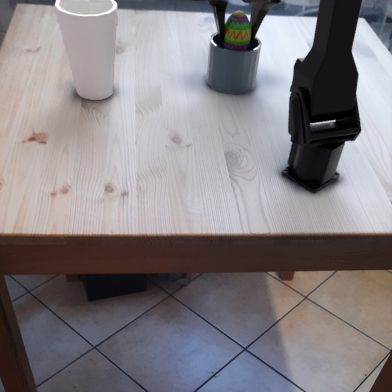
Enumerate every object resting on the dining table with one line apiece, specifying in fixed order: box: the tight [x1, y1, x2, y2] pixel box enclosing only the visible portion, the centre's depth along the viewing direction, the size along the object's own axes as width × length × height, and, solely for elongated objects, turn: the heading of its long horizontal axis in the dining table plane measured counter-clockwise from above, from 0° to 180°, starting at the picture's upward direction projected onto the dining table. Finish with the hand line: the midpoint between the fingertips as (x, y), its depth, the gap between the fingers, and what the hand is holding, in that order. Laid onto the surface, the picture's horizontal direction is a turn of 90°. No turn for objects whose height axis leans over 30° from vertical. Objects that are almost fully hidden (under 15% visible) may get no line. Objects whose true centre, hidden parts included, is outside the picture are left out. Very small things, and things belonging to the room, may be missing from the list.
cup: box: [206, 31, 263, 95], centre depth 87 cm, size 9×9×7 cm
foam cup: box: [54, 0, 119, 101], centre depth 80 cm, size 10×9×13 cm
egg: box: [223, 9, 251, 51], centre depth 83 cm, size 5×5×6 cm
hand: (235, 42), depth 85 cm, fingers closed on egg, 5 cm apart
